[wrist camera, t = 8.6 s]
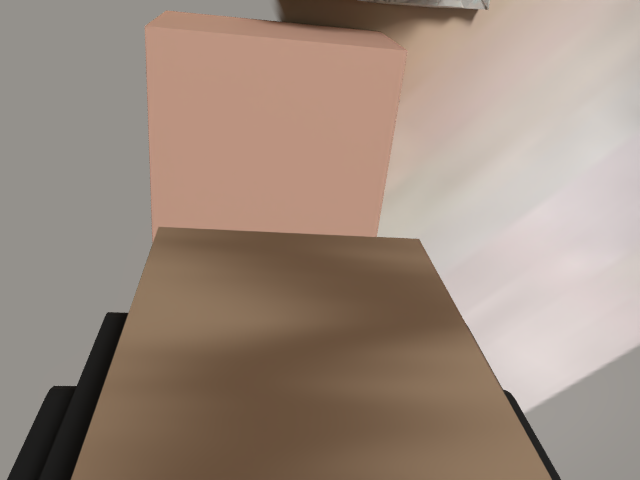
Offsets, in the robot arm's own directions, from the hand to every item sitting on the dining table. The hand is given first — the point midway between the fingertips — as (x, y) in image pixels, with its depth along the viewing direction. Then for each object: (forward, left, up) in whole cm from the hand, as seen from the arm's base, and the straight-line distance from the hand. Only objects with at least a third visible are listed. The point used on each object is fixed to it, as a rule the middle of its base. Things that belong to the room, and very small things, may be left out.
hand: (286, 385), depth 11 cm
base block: (0, 0, -17) cm, 17 cm away
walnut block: (0, 0, -2) cm, 2 cm away
